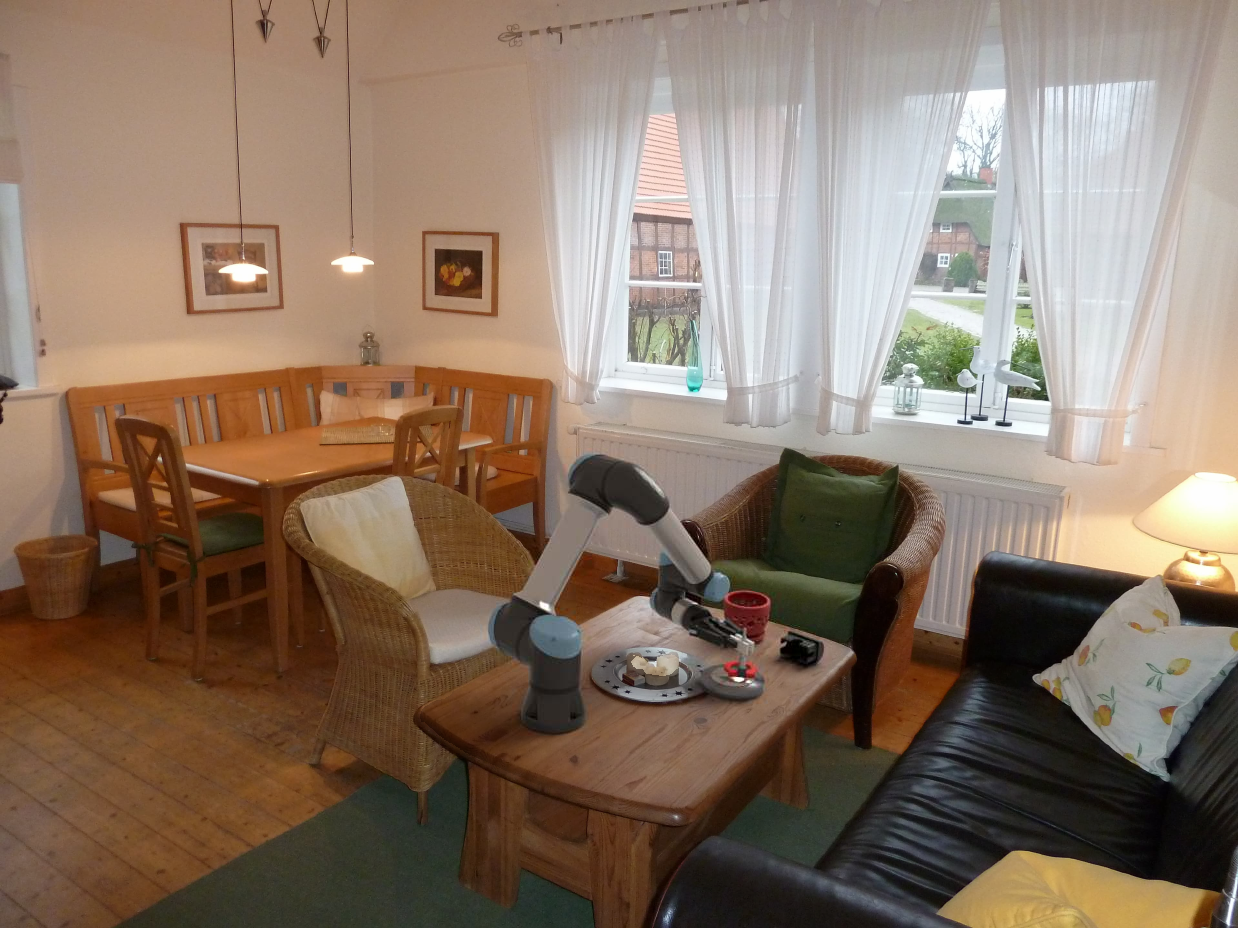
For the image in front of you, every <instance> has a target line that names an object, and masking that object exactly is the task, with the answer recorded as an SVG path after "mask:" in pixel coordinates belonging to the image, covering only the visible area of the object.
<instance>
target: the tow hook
mask: <svg viewBox="0 0 1238 928" xmlns="http://www.w3.org/2000/svg"><path fill="white" fill-rule="evenodd" d="M746 639H747V636H746V628H743V636H742V641H744V642H746ZM736 665H739V666H738V668H737V671H736V670H734V669H732V668H730V667H731V666H736ZM746 667H748V668H750V670H748V671H746ZM724 670H725V671H726V672H728V677H737V678H755V673H756V672H758V667H757V665H755V664H753V663H751V662H748V661H747V659H746V655H745V654H743V653H741V652H740V656H739V660H731V661H727V662H725V663H724Z"/></svg>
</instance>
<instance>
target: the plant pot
mask: <svg viewBox="0 0 1238 928" xmlns="http://www.w3.org/2000/svg"><path fill="white" fill-rule="evenodd" d="M741 600H744V602H743V603H742V602H741ZM734 602H736V603H737V604H734ZM749 603H750V604H749ZM770 611H771V599H770V598H769V597H768V596H766V595H765V594H763V593H760V592H756V591H751V590H736V591H731V592H728V594H727V595H726V597H725V598H724V599H723V617H724V619H725V618H726V617H727V618H729V619H730V621H731V622H733V623H734V624H735V625H737V626H738V627H739V628H741V629H742V630H743V628H746V636H747V639H748V640H750V641H752V642H754V643H758V642H761V641H762V640H763V639H764V638H765V637H766V633H767V632H766V630H765V629H766V627H767V625H768V622H769V617H770Z"/></svg>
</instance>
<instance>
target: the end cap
mask: <svg viewBox="0 0 1238 928" xmlns="http://www.w3.org/2000/svg"><path fill="white" fill-rule="evenodd" d="M779 641H780V644H781V645H782V644H785V643H786V644H785V645H783V646H781V647H780V648H779V654H780V656H779V658H780V659H781V660H783V661H786V662H789V663H791V664H795V665H796V666H800V667H802V668H804V669H809V668H811V667H814V666H815V665H816V664H818V663H819V662H821V661H820V660H822V658H823V655H824V652H825V646H824V643H823V641H822V640H819V639H816V638H813V637H809V636H807V635H804V634H801V633H798V632H796V631H793V630H788V631H787V635H786V636H785V635H784V636H782V637H781V638H780V640H779Z"/></svg>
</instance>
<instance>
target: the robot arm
mask: <svg viewBox="0 0 1238 928" xmlns="http://www.w3.org/2000/svg"><path fill="white" fill-rule="evenodd" d="M567 480H568V481H567V487H568V488H569V489H568V491H567V494H566V498H567V501H568V504H567V507H566V509H565V511H564V513H563V514H562V516H561V518H560V520H559V521H558V524H557V525H556V527H555V528H554V531H553V533H552V535H551V537H550V538H549V540H548V542H547V544H546V546H545V548H544V550H542V551H543V552H542V554H541V555H540V557H539V559H538V561H537V562H536V564H535V566H534V569H533V570H532V572H531V573H530V575H529V578H528V579H527V581H526V584H525V585H524V587H523V589H522V590H520V591H518V592H514V593H513V594H512V596H511V598H510V599H509V601H506V602H502V604H501V605H497V606H496V608H494V610H493V611H492V612H491V615H490V617H489V620H488V624H487V634H488V638H489V641H490V643H491V644H492V646H493V647H494V648H496V649H497V650H498V651H499V652H500V653H501V654H503V655H505V656H507V657H510V658H512V659H513V660H515V661H517V662H518V663H521V664H522V665H524V666H526V667H527V668H529V676H528V677H529V682H528V684H529V686H528V689H527V691H526V694H525V697H524V700H523V703H522V705H521V710H520V721H521V722H522V724H523V725H524V726H525V727H527V729H531V730H533V731H536V732H538V733H545V734H562V733H563V734H564V733H568V732H573V731H575V730H577V729H579V728H581V727H582V726H583V725H584V724H585V723H586V720H587V707H586V704H585V701H584V697H583V694H582V691H581V690H582V689H581V686H580V682H581V665H582V663H581V661H582V646H583V642H582V633H581V629H580V627H579V625H578V624H577V623H576V622H575V621H574V620H572V619H570V618H568V617H566V616H563V615H562V616H561V615H560V616H558V615H557V614H556V611H555V606H556V603H557V602H558V600H559V599H560V596H561V594H562V592H563V591H564V589H565V587H566V585H567V584H568V581H569V579H570V577H571V575H572V574H573V571H574V569H575V568H576V566H577V564H578V562H579V560H580V559H581V556H582V555H583V552H584V551H585V548H586V547H587V544H588V543H589V541H590V539H591V537H592V535H593V534H594V532H595V530H596V529H597V526H598V524H599V523H600V521H601V520H603V519H607V518H608V517H610V515H611V512H612V511H613V509H617V510H620V511H622V512H625V513H627V514H628V515H630V516H631V517H632V518H633V519H634V520H635V522H636V523H637V524H638V525H639V526H643V527H646V530H648V532H649V533H650V534H651V535H652V537H653V538H654V540H655V541H656V542H657V544H658V545H659V546H660V547H661V549H662V550H661V551H660V553H659V562H658V582H657V583H658V585H657V587H656V588H655V589H654V590H653V591H652V592H651V596H650V597H649V605H650V608H651V609H652V610H653V611H654V612H655V613H656V614H658V616H660V617H662V618H664V619H667V620H668V621H670V622H672V623H673V624H676V625H678V626H679V627H681V628H682V629H684V630H686V631H687V632H688V635H689V636H690V637H695V638H698V639H700V640H703V641H706V642H707V643H709V644H713V645H714V646H717V647H720V646H721V645H723V649H728V647H730V648H732V649H734V650H736V651H738V652H740V654H741V653H743V654H745V656H748V655H749V653H750V654H754V653H755V643H756V642H752V641H750V640H748V639H746V642H744V641H742V636H743V630H742V629H741V628H739V627H738V626H737V625H735V624H734V623H733V622H731V621H730V619H729V618H727V617H726V618H724V619H719V618H718V617H715V616H713V615H712V613H711V611H710V610H709V609H708V608H706V607H704V606H702V605H701V604H699V603H697V602H695V601H693V600H690V599H689V598H687V597H685V596H686V592H688V593H690V594H692V595H695V596H698V597H700V598H702V599H705V600H706V601H711V602H714V603H718V602H721V601H724V598H725V597H726V595H727V594H729V593H730V592H729V591H730V586H731V583H730V580H729V578H728V577H727V575H726V574H722V572H717V571H716V570H715V569H714V567H713V566H712V565H711V564H710V562H709V560H708V559H707V558H706V556H705V555H704V554H703V552H702V551H701V550H700V548H699V547H698V545H697V544H696V543H695V541H694V539H693V538H692V537H691V535H690V533H688V531H687V530H686V528H685V526H683V524H682V522H681V521H680V520H679V519H678V517H677V515H676V514H675V513H674V512H673V510H672V508H671V500H670V499H669V497H668V496H667V493H665V492H664V490H663V489H662V488H661V486H660V485H659V483H658V482H657V481H656V480H655V479H654V478H653V477H652V476H651V475H650V474H649V473H648V472H647V471H646V470H645V469H644V468H642V467H641V466H639V465H638V464H635V463H634V462H631V461H626V460H622V459H619V458H615V457H612V456H610V455H607V454H603V453H594V452H593V453H586V454H583V455H581V456H579V457H578V458H577V459H576V460H575V461H574V462H573V463H572V465H571V467H570V468H569V470H568V473H567Z"/></svg>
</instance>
